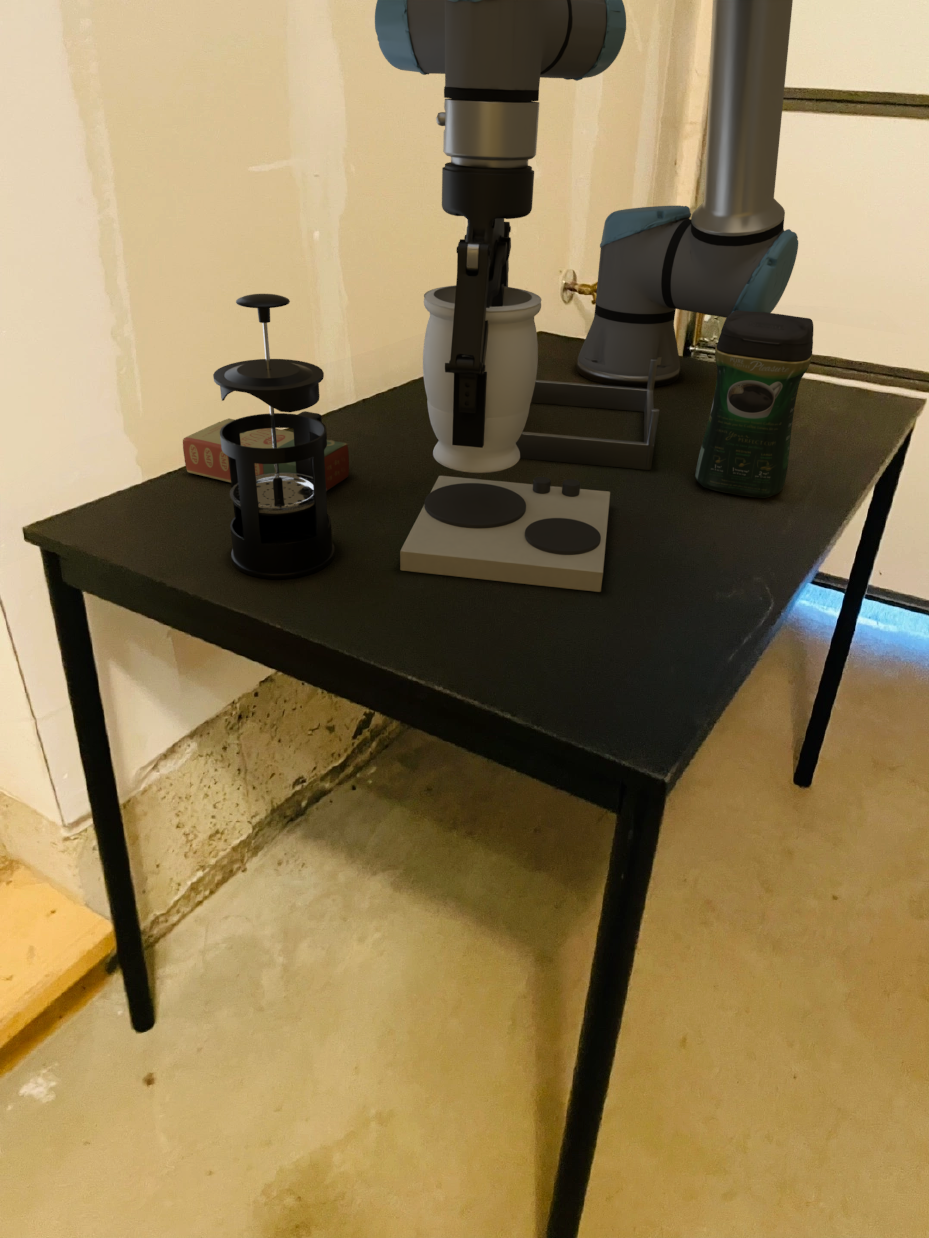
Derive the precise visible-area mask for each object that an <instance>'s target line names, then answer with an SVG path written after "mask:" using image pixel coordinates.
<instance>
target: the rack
mask: <svg viewBox="0 0 929 1238" xmlns="http://www.w3.org/2000/svg"><path fill="white" fill-rule="evenodd" d="M657 362H658V359H651V361H650V369H649V376H648V384H647V387H625V386H616V385H609V384H595V383H583V382H568V381H558V380H557V381H555V380H543V379H536V381H535V387H534V391H533V396H532V399H531V403H530V404H543V405H556V406H569V407H579V408H593V409H594V408H595V409H604V410H605V409H606V410H615V411H630V412H639V413H643V441H635V440H623V439H612V438H611V439H610V438H600V437H589V436H577V435H576V436H575V435H566V434H555V433H554V434H553V433H542V432H531V431H523V432H522V434H521V436H520V437H519V439H518V441H517V442H516V445H517V447H518V449H519V451H520V459H523V460H524V459H525V460H536V461H547V462H556V463H567V464H568V463H569V464H579V465H590V466H600V467H610V468H611V467H613V468H623V469H633V470H634V469H635V470H645V471H651V470H652V465H653V458H654V453H655V452H654V451H655V445H656V436H657V431H658V423H659V417H660V409H659V408H654V389H655V387H654V383H655V376H656V369H657Z"/></svg>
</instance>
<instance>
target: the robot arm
mask: <svg viewBox="0 0 929 1238" xmlns="http://www.w3.org/2000/svg"><path fill="white" fill-rule="evenodd" d="M793 1H794V0H712V10H711V31H710V32H711V33H710V53H709V54H710V56H709V77H708V101H707V121H706V122H707V123H706V125H707V126H706V127H707V128H706V146H705V147H706V149H705V169H704V170H705V171H704V194H703V195H704V196H703V202H702V203H701V204H700V205H699V206H698V207H697V208H696V209H694V211H693V212H692V213H691V208H690V207H689V206H687V205H656V206H641V207H632V208H625V209H618V210H614V211H612V212H610V214H608V216H607V217H606V219H605V220H604V223H603V230H602V235H601V241H600V244H599V248H600V253H599V263H598V273H597V283H596V293H595V306H594V317H593V320H592V322H591V324H590V327H589V329H588V332H587V334H586V336H585V339H584V342H583V344H582V345H581V349H580V350H579V354H578V356H577V363H576V371H577V373H578V374H579V375H580V376H582V377H583V378H586V379H588V380H590V381H593V382H597V383H601V384H603V385H609V386H621V387H634V388H647V384H648V376H649V369H650V361H651V359H658V362H657V369H656V376H655V383H654V388H655V387H660V386H666V385H669V384H672V383H674V382H676V381H677V380H678V379H679V376H680V369H681V360H680V355H679V347H678V343H677V336H676V330H675V318H676V310H680V311H685V312H691V313H696V314H703V315H708V316H714V317H719V318H725V319H726V318H727V317H728V316H729V315H730V314H731V313H732V312H734V311H737V310H738V311H752V312H765V313H773V311H774V310H775V308H776V307H777V306H778V304H779V302H780V300H781V298H782V297H783V295H784V292H785V291H786V288H787V286H788V283H789V281H790V279H791V276H792V273H793V270H794V267H795V265H796V264H795V263H796V260H797V256H798V250H799V239H798V238H799V237H798V234H797V233H796V232H795V231H793V230H792V229H790V228H788V229H785V227H784V226H785V217H786V216H785V215H786V210H785V208H784V206H782V204H780V202H778V201H777V200H776V199H775V191H776V189H775V188H776V180H777V169H778V160H779V150H780V149H779V148H780V138H781V128H782V118H783V117H782V116H783V107H784V106H783V105H784V97H785V86H786V76H787V64H788V55H789V45H790V44H789V43H790V34H791V33H790V32H791V23H792V14H793V13H792V11H793V3H794V2H793ZM374 31H375V33H376V35H377V37H376V38H377V41H378V46H379V49H380V52H381V53H382V56H383V57H384V59H385V60H386V61H387V62H388V63H389V64H390V65H391V66H392V67H394V68H395V69H398V70H399V71H405V72H414V73H419V74H421V75H423V76H425V75H426V76H427V75H430V74H432V75H433V74H435V75H444V80H445V81H444V86H443V98H444V102H443V109H444V111H441V112H437V116H436V117H435V121H436V124H437V125H438V126H441V127H444V130H443V139H442V140H443V145H442V146H443V147H442V148H443V149H442V152H443V153H444V154H445V155H446V156H447V157H450V162H446V163H444V166H443V167H442V168H441V170H442V171H441V208H442V210H443V212H445V213H446V214H448V215H451V216H454V217H464V218H465V219H466V220H467V226H466V233H465V235H464V236H463V237H464V238H461V239H459V241H458V244H457V246H456V254H457V259H456V284H455V285H456V294H455V307H454V320H453V333H452V346H451V359H450V361H449V363H445V372H448V373H454V396H453V436H452V445H457V446H468V447H479V448H483V445H484V428H485V406H486V383H487V372H484V371H485V368H486V366H485V358H486V349H487V340H488V325H489V324H488V320H486V321H485V318H486V308H490V307H500V306H503V296H504V287H503V286H505V287H509V272H510V269H509V268H510V265H509V264H510V263H509V262H510V261H509V259H510V256H511V255H510V254H511V250H512V237H510V233H511V232H512V226H511V222H510V221H505V220H513V219H514V220H515V219H521V218H524V217H527V216H529V215H530V214H531V213H532V210H533V199H534V184H535V170H533V167H532V166H531V165H529V160H533V159H534V158H535V157H536V156H537V148H538V134H539V133H538V131H539V119H540V118H539V116H540V115H539V114H540V102H539V97H540V84H541V82H540V81H541V78H542V79H543V78H544V79H564V80H565V81H570V80H573V81H576V82H577V81H581V80H583V79H587V78H592V77H596V76H598V75H600V74H602V73H603V72H605V71H606V70H607V69H609V68H610V67H611V65H612V64H613V63H614V62H615V60H616V59H617V57H618V56H619V54H620V52H621V49H622V47H623V45H624V42H625V37H626V32H627V12H626V8H625V4H624V1H623V0H376V3H375V10H374ZM784 229H785V230H784ZM463 355H472V356H473V357H474V358H472V357H463Z"/></svg>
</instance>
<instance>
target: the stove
mask: <svg viewBox="0 0 929 1238" xmlns="http://www.w3.org/2000/svg"><path fill="white" fill-rule="evenodd" d="M551 483H552V480H551V479H550V478H549V477H546V476H535V477H534V478H533V480H532V483H531V484H530V483H522V482H512V481H511V482H510V481H501V480H492V479H491V480H490V479H480V478H470V477H461V476H448V475H438V477H437V479H436V480H435V483H434V484H433V486H432V489H431V490H430V493H428V494H427V495H426V497H425V498H424V502H423V503H424V504H423V506H422V508H421V510H420V512H419V514H418V516H417V517H416V519H415V522H414V523H413V526H412V527H411V529H410V531H409V533H408V535H407V537H406V539H405V541H404V543H403V545H402V547H401V549H400V551H399V563H400V564H399V566H400V567H399V570H400V571H403V572H411V573H421V574H430V575H440V576H448V577H458V578H465V579H466V578H468V579H476V580H477V579H478V580H485V581H495V582H502V583H503V582H504V583H513V584H520V585H521V584H523V585H524V584H525V585H529V586H530V585H532V586H540V587H550V588H557V589H559V588H560V589H567V590H576V591H577V590H578V591H585V592H595V593H601V592H602V585H603V578H604V568H605V567H604V566H605V556H606V555H605V554H606V546H607V545H606V543H607V536H608V535H607V532H608V523H609V522H608V521H609V511H610V499H611V491H606V490H596V489H585V488H581V482H580V481H579V480H578V479H572V478H569V479H564V480H563V481H562V486H553V485H551Z"/></svg>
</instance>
